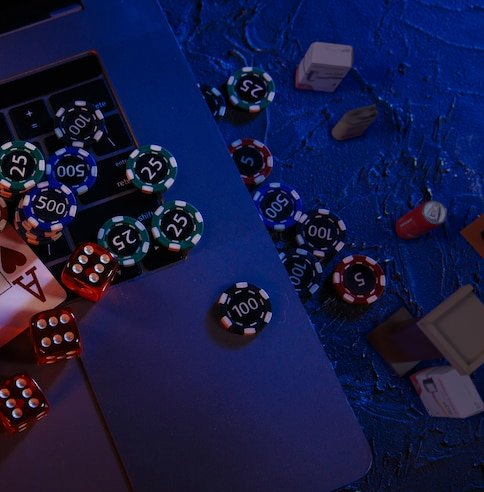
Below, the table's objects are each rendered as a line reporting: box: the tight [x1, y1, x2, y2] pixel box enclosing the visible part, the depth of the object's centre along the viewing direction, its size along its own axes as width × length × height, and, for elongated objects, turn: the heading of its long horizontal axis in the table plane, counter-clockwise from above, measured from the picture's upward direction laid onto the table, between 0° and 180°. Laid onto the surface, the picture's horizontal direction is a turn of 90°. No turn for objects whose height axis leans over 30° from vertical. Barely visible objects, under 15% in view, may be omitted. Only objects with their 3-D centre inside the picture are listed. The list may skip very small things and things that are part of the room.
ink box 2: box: [408, 364, 484, 419], centre depth 115 cm, size 9×5×12 cm, turn 22°
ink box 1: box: [295, 41, 355, 93], centre depth 131 cm, size 9×5×12 cm, turn 83°
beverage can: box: [395, 200, 448, 241], centre depth 123 cm, size 5×5×12 cm
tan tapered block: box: [331, 103, 379, 141], centre depth 129 cm, size 7×4×10 cm, turn 105°
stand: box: [364, 306, 446, 378], centre depth 112 cm, size 10×10×23 cm
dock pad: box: [416, 283, 484, 376], centre depth 100 cm, size 10×10×2 cm
